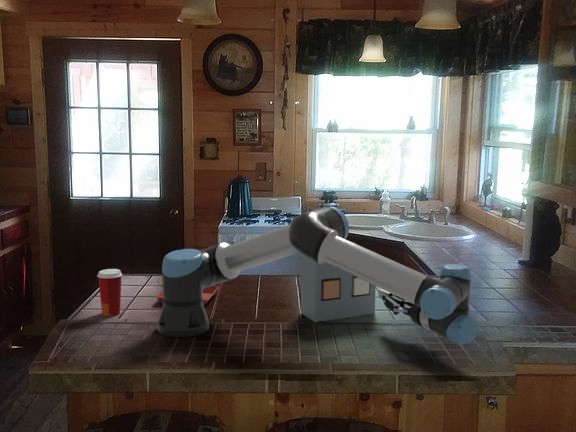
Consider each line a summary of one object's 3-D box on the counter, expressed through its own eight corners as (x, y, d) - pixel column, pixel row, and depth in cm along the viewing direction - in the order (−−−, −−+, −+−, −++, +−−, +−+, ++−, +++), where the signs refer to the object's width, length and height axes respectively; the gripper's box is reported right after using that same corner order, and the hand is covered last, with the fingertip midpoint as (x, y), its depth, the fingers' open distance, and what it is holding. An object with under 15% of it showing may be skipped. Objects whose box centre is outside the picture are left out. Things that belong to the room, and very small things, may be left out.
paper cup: (125, 310, 207) (124, 268, 205) (120, 317, 199) (119, 274, 197) (101, 310, 207) (100, 268, 205) (95, 317, 199) (93, 274, 197)
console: (300, 313, 205) (301, 253, 202) (358, 305, 215) (360, 248, 212) (315, 322, 196) (316, 259, 193) (374, 313, 206) (376, 254, 203)
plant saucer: (219, 294, 228) (219, 285, 228) (208, 308, 211) (207, 299, 210) (170, 292, 230) (170, 283, 230) (155, 306, 212) (155, 297, 212)
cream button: (346, 291, 205) (346, 275, 204) (360, 289, 207) (361, 273, 207) (354, 295, 201) (354, 278, 200) (368, 293, 203) (369, 277, 202)
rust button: (316, 295, 201) (316, 278, 200) (331, 293, 203) (331, 276, 202) (323, 299, 196) (324, 282, 195) (339, 297, 198) (339, 280, 198)
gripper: (409, 331, 169) (362, 307, 190) (447, 325, 174) (398, 302, 195) (410, 304, 167) (362, 283, 188) (449, 298, 173) (398, 279, 194)
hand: (380, 293), depth 192 cm, fingers closed
